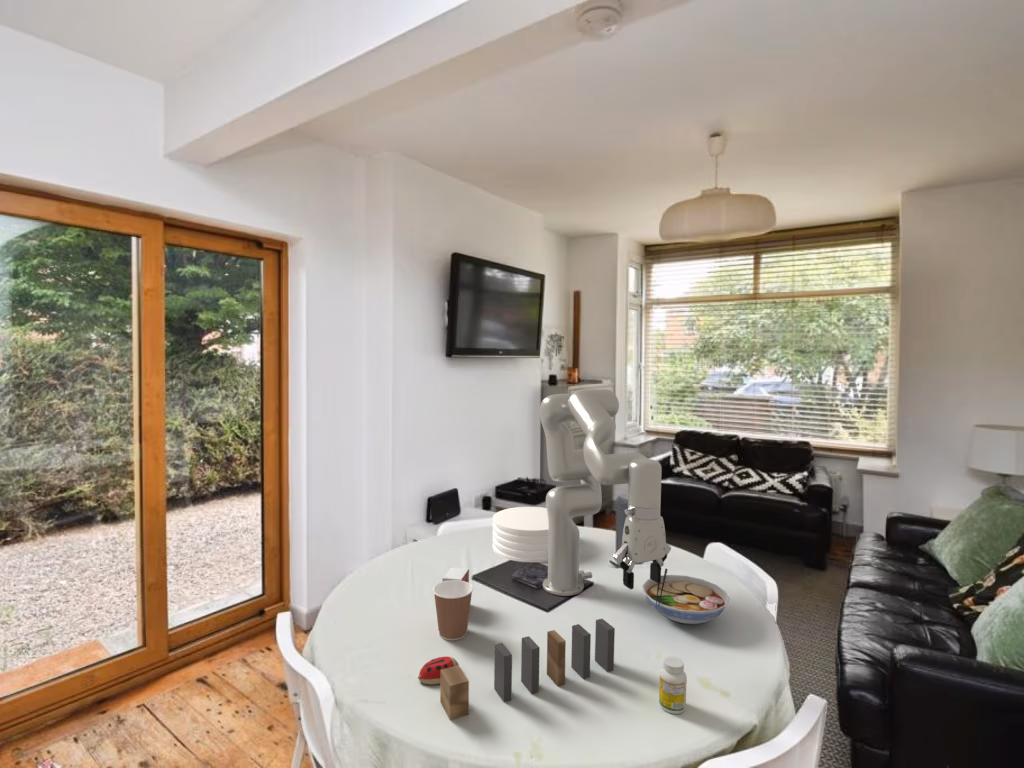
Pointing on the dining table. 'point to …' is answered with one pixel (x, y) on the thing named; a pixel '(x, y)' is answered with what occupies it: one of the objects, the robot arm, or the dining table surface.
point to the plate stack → (521, 534)
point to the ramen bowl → (686, 598)
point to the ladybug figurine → (435, 669)
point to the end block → (454, 692)
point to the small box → (457, 575)
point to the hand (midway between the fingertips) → (641, 583)
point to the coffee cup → (453, 608)
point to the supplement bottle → (673, 686)
